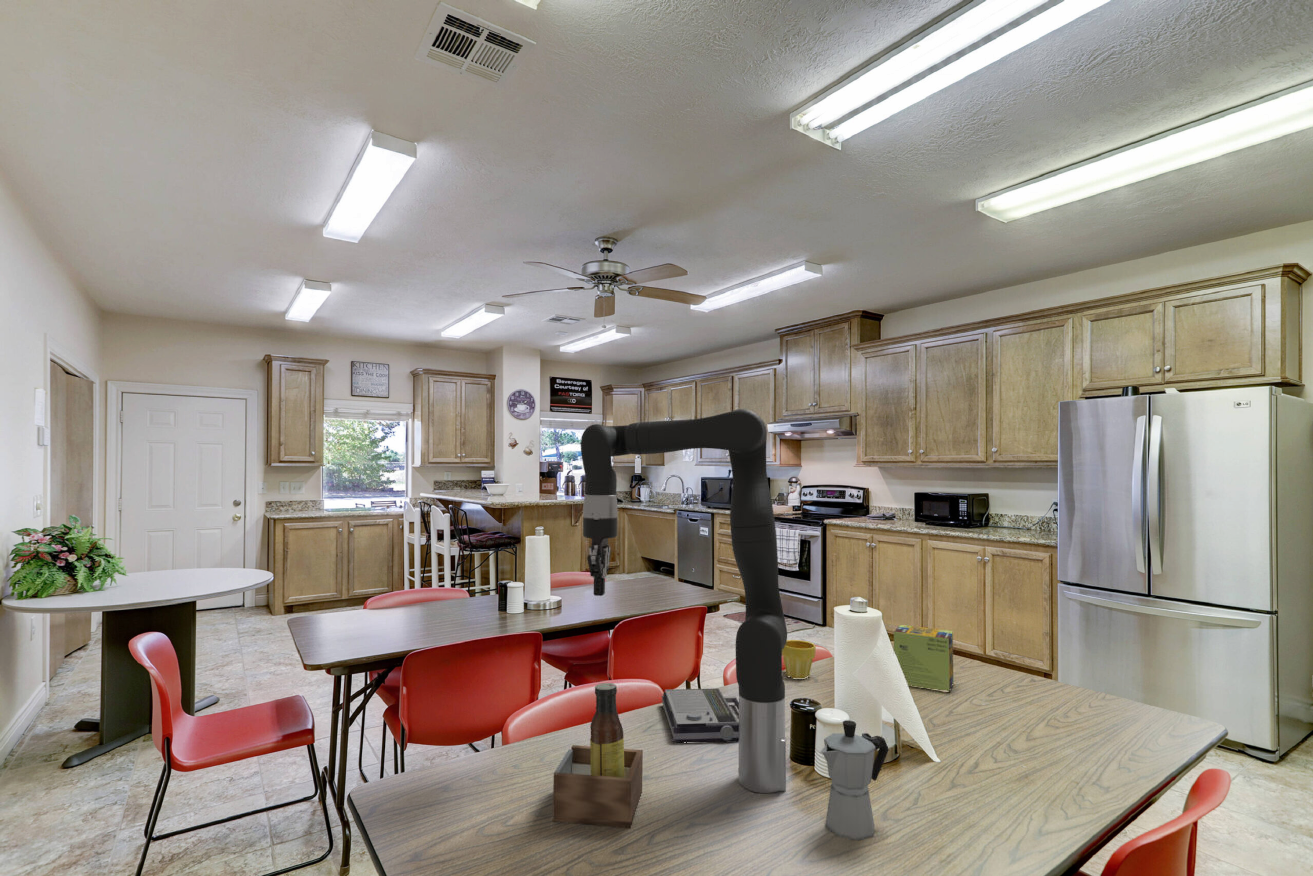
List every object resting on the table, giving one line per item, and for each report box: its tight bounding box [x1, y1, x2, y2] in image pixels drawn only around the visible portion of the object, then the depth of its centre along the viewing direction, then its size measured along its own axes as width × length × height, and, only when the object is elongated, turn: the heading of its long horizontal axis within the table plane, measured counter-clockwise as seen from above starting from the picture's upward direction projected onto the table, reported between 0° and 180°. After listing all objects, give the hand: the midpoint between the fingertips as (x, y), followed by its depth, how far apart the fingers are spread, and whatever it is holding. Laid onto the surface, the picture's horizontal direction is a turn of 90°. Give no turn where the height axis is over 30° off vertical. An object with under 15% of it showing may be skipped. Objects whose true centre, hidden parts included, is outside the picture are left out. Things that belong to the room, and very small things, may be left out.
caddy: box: [552, 744, 644, 829], centre depth 119 cm, size 14×13×8 cm
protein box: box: [893, 624, 955, 692], centre depth 190 cm, size 10×15×16 cm
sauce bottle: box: [589, 682, 625, 778], centre depth 120 cm, size 7×6×20 cm
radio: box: [661, 687, 739, 744], centre depth 159 cm, size 24×5×20 cm
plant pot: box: [782, 639, 816, 679], centre depth 196 cm, size 10×10×10 cm
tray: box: [553, 748, 630, 778], centre depth 119 cm, size 13×10×6 cm
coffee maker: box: [819, 719, 890, 841], centre depth 114 cm, size 15×9×18 cm, turn 114°
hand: (599, 595), depth 140 cm, fingers closed
